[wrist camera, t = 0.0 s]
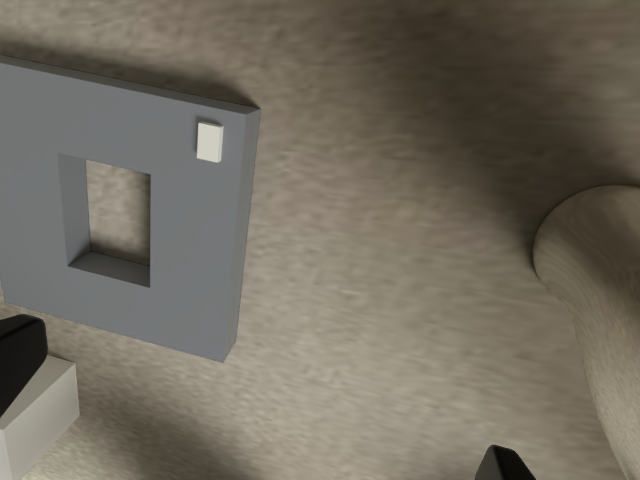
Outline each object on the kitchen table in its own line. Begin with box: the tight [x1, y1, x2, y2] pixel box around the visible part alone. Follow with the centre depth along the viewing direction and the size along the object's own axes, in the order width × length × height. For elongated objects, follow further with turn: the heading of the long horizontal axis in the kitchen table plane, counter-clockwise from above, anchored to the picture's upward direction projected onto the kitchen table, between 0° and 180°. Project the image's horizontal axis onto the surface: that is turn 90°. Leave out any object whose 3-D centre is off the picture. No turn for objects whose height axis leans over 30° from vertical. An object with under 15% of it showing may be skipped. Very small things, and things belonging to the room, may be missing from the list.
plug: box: [0, 355, 80, 480], centre depth 30 cm, size 7×4×6 cm, turn 171°
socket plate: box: [0, 55, 261, 363], centre depth 24 cm, size 14×14×2 cm
